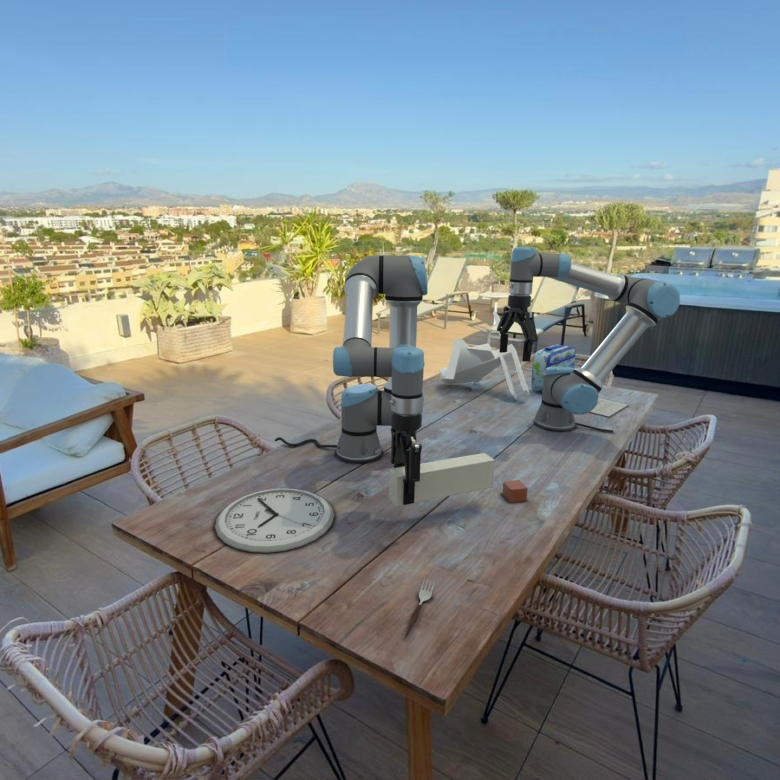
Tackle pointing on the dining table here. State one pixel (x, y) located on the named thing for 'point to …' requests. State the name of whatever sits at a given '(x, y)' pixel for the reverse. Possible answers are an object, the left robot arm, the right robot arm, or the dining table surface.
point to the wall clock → (274, 520)
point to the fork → (423, 597)
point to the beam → (445, 478)
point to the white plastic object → (480, 363)
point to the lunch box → (550, 362)
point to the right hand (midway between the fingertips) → (514, 356)
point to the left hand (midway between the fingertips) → (404, 497)
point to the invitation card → (607, 407)
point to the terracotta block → (514, 491)
